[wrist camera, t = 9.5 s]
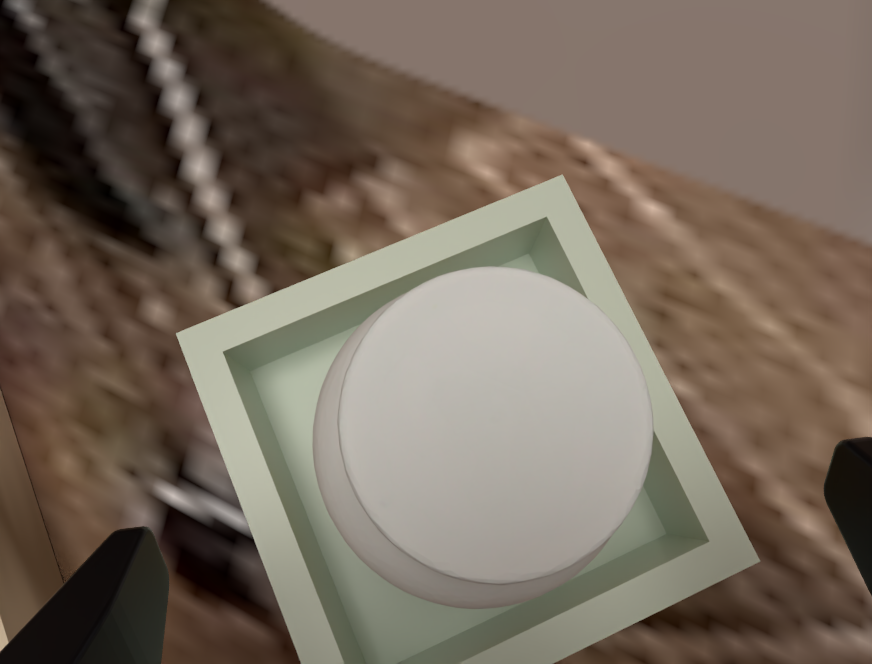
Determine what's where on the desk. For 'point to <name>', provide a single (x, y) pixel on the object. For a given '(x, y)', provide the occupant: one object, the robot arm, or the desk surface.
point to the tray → (317, 534)
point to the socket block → (21, 541)
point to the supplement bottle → (482, 437)
